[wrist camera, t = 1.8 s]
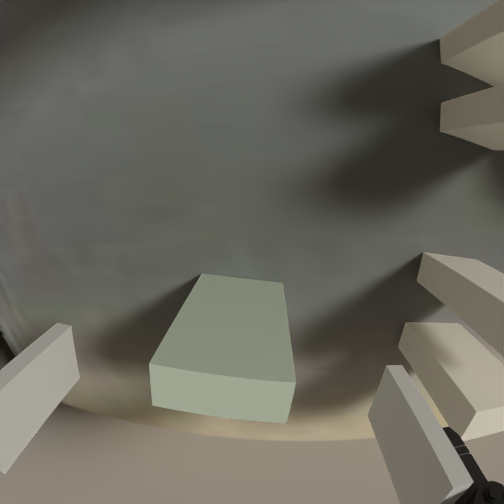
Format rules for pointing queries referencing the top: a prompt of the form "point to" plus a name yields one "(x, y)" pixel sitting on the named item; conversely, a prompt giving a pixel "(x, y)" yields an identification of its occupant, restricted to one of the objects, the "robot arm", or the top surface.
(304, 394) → the top surface
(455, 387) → the tile
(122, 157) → the top surface
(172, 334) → the tile
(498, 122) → the tile
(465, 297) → the tile
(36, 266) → the top surface
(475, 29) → the tile
